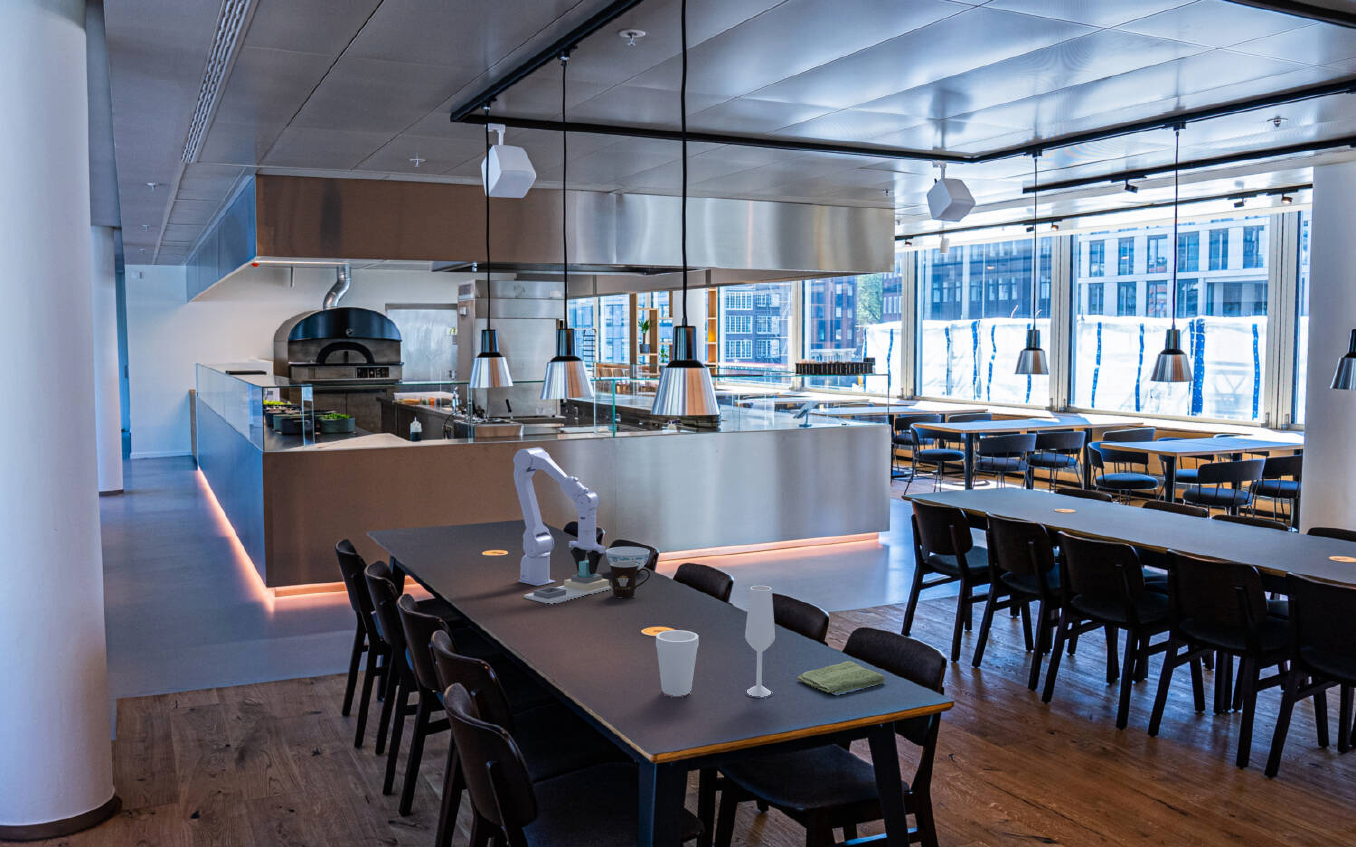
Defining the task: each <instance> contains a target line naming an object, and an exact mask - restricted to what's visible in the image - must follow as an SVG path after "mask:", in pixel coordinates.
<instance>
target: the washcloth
mask: <svg viewBox="0 0 1356 847" xmlns="http://www.w3.org/2000/svg"><path fill="white" fill-rule="evenodd" d="M796 680H797V681H799V680H800V681H802V682H804V683H806V684H805V685H807V684H809V685H808V686H810V685H811V686H810V687H812V688H813V687H814V688H813V689H816V688H818V689H817V690H819V689H820V690H821V691H823V692H826V693H827V694H831V693H842V692H845V691H849V690H852V689H857V688H865V687H868V686H871V685H876V684H880V683H882V684H883V683H884V682H885V680H886V676H884V675H883V674H881V673H879V672H877V671H873V670H871V669H868V668H866V667H865V668H864V667H862V665H860V664H857V663H855V662H853V661H852V660H851V661H850V660H846V661H843V662H841V663H839V664H832V665H828V666H825V667H821V668H818V669H814V670H808V671H805V672H803V673H801V674H800V675H799V676H798V677H797V678H796ZM800 681H799V682H800ZM802 682H801V683H802ZM804 683H803V684H804ZM829 692H830V693H829Z"/></svg>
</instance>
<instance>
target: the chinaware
mask: <svg viewBox="0 0 1356 847" xmlns="http://www.w3.org/2000/svg"><path fill="white" fill-rule="evenodd" d="M650 553H651V551H650V550H649V549H648V548H645V547H640V546H615V547H611V548H607V549H606V553H605V555H606V558H607V561H608V563H609V564H611V563H613V562H620V561H628V562H635V563H638V570H639V569H642V568H643V567H644V566H645V565H646V564H647V562H648V560H649V556H650Z"/></svg>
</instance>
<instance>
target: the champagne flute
mask: <svg viewBox="0 0 1356 847" xmlns="http://www.w3.org/2000/svg"><path fill="white" fill-rule="evenodd" d="M749 589H750V590H749V598H748V606H747V615H746V624H745V634H744V638H745V640H746V642H747V643H748V645H749V646H750V647H751V648H752V649H753V650H754V651H756V677H755V678H756V682H755V684H756V685H754V686H752V687H749V689H746V690H747V693H748V694H749V695H752V696H760V697H764V696H768V695H770V694H771V692H772V691H771V690H770V689H767V688H766V687H764V686H763V685H762V684H763V683H762V679H763V678H762V677H763V676H762V675H763V652H764V651H765V650H767V649H768V648H769V647H770V646H771V645H772V644H773V643H774V641H775V640H776V633H775V618H774V617H775V616H774V603H773V591H772V590H773V589H772V587H770V586H767V585H754V586H750V588H749Z"/></svg>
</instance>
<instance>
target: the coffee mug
mask: <svg viewBox="0 0 1356 847" xmlns="http://www.w3.org/2000/svg"><path fill="white" fill-rule="evenodd" d="M609 564H610V563H609ZM609 567H610V571H611V572H610V573H611V574H610V576H611V583H612V593H613V594H612V595H613V597H614V596H616V597H622V598H621V599H630V598H629V597H632V598H634V597H635V592H636V589H637V588H638V587H639V586H642V585H643V584H645V583H646V582H647V581H648V580H649V579H650V576H651V573H650V571H649V570H648V569H647V568H643V567H642V568H641V569H639V570H638V563H635V562H628V561H620V562H613V563H611V564H610V566H609ZM642 571H645V572H646V573H647V574H648V576H647V578H646V579H644V580H643V581H641V582H640V583H638V584H637V576H638V575H639V574H640V572H642ZM633 596H634V597H633ZM616 597H615V598H616Z"/></svg>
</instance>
